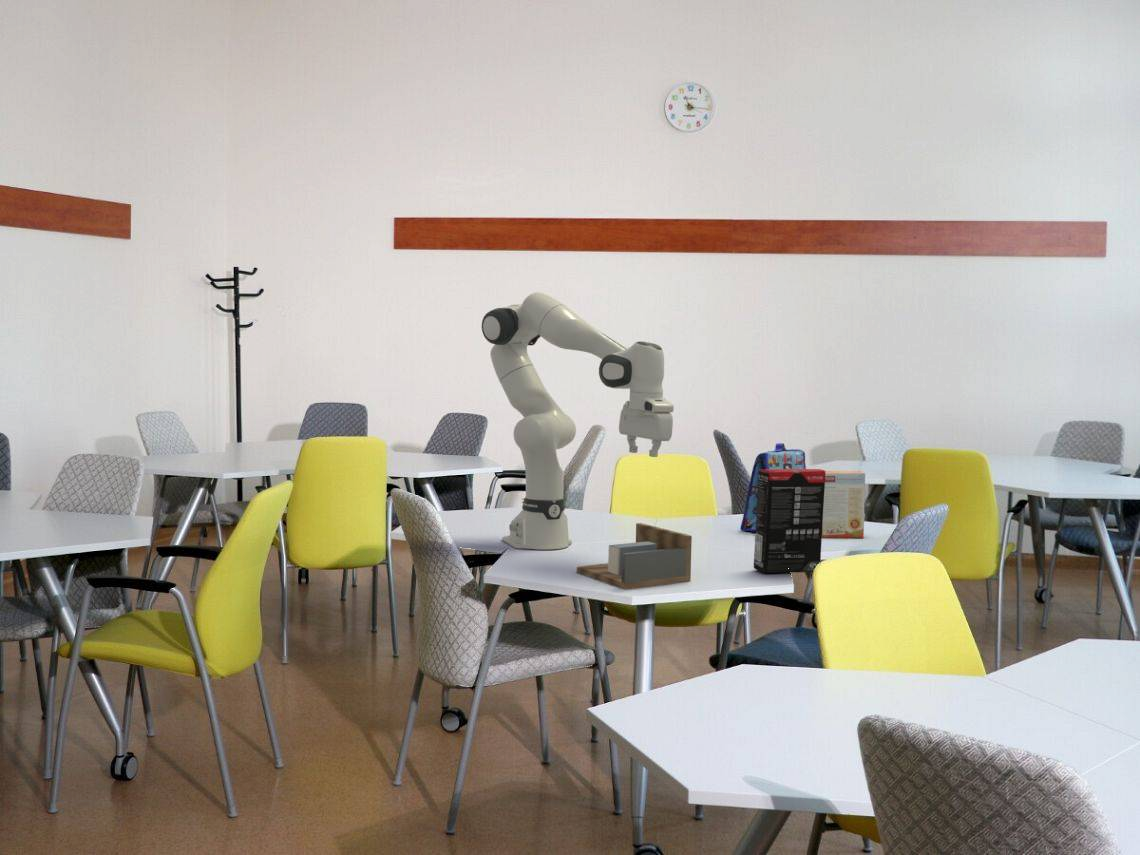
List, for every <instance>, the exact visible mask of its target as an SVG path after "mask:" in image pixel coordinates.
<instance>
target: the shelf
mask: <svg viewBox="0 0 1140 855" xmlns="http://www.w3.org/2000/svg"><path fill="white" fill-rule="evenodd" d="M692 539H693V536H692V535H690V534H686V533H682V532H679V531H674V530H669V529H665V528H661V527H659V526H658V527H657V526H655V525H651V524H646V523H642V522H638V523H635V543H637V542H647V541H648V542H652V543H655V544H657V550H660V549H670V548H680V547H684V548H687V555H686V576H681V577H672V578H664V579H656V580H647V581H639V582H631V583H623V582H621V578H622V575H618V576H617V575H614V574H611V573H608V562H607V563H599V564H590V565H589V564H587V565H581V566H579V565H577V566H576V573H577V574H580V575H583V576H586V577H589V578H591V579H595V580H598V581H600V582H603V583H605V584H606V583H607V584H609V585H611V586H615V587H617V588H619V589H623V590H631V589H637V588H638V589H639V588H645V587H647V588H648V587H654V586H662V585H663V586H664V585H670V584H671V585H672V584H679V583H688V582H692V581H691V578H692V577H691V576H692V575H691V574H692V573H691V572H692V542H693V541H692Z"/></svg>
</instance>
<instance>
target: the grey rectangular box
mask: <svg viewBox="0 0 1140 855" xmlns="http://www.w3.org/2000/svg"><path fill="white" fill-rule="evenodd" d="M650 550H657V544H655V543H652V542H648V541H647V542H637V543H636V542H628V543H617V544H609V545H608V555H607V556H608V560H607V563H608V573H611V574H614V575H617V576H618V575H622V553H631V552H641V551H650Z"/></svg>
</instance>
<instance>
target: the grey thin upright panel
mask: <svg viewBox="0 0 1140 855" xmlns="http://www.w3.org/2000/svg"><path fill="white" fill-rule="evenodd" d="M686 555H687V548H684V547H680V548H670V549H660V550H650V551H641V552H631V553H622V578H621V582H623V583H631V582H639V581H647V580H656V579H664V578H672V577H681V576H686Z"/></svg>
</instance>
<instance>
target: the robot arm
mask: <svg viewBox="0 0 1140 855" xmlns="http://www.w3.org/2000/svg"><path fill="white" fill-rule="evenodd" d="M481 332H482V334H483V337H484V338H485V340H486V341H487V342H488V343H490V344H492V345H493V346H492V347H491V349H490V359H491V363H492V366H493V369H494V372H495V374H496V377H497V379H498V381H499V383H500V385H501V387H502V389H503V391H504V393H505V395H506V397H507V399H508V402H509V404H510V405H511V407H513V409H514V410H516V411H517V412H518V413H520V414H521V415H522V416H523V418H522V419H520V420H519V421H518V422H517V423H516V424H515V426H514V428H513V440H514V442H515V444H516V445H517V447H518V448H519V449H520V452H521V456H522V459H523V463H524V464H523V465H524V469H525V470H524V471H525V497H524V498H521V501H522V502H521V503H522V507H521V509H522V510H521V511H520V512H519V513H518V514H517V515H516V516H515V517H514V518H513V519H511V522H510V524H509V535H504V536H502V537H501V540H502V541H503V542H505V543H506V544H508V545H509V546H511V547H512V548H514V549H528V550H529V549H530V550H545V551H546V550H559V549H565V548H567V547H568V546H569V545H571V544H572V542H573V541H572V539H570V537H569V524H568V520H569V519H568V516H567V515H566V514H565V512H564V511H565V509H566V502H565V499H566V498H564V486H565V485H564V479H565V473H564V470H563V469H562V467H561V466H560V463H559V460H558V454H557V450H560V449H563V448H565V447H566V446H568V445H569V444H571V443H572V441H574V439H575V437H576V433H577V426H576V423H575V422H574V420H573V419H572V418H571V417H570V416H569V415H567V414H566V413H565V412H564V411H563V409H561V407H560V406H559V405H558V403H557V402H556V401H555V399H553V397H552V396H551V395H550V393H549V392H548V390H547V389H546V388H545V386H544V383H543V382H542V380H541V378H540V376H539V374H538V371H537V369H536V368H535V366H534V363H533V362H532V360H531V358H530V357H529V354H528V346H529V347H530V346H534V345H536V343H537V341H538V340H539V339H540V338H543V340H545V341H547V342H548V343H549V344H551V345H553V346H556V347H558V348H559V349H563V350H571V351H578V352H585V353H587V354H592V355H594V356H596V357H597V358H599V359H601V361H600V362H599V367H598V376H599V378H600V381H601V383H603V384H602V385H604V386H605V387H608V388H611V389H615V390H616V389H620V390H621V389H622V390H623V389H624V390H626V389H627V390H628V389H629V400H626V402H625V403H624V404H623V406H622V409H621V410H620V416H619V423H618V432H619V434H620V435H625V436H626V441H627V444H628V446H629V449H628V450H629V451H628V452H629V453H633V454H637V453H638V451H639V450H638V448H639V447H638V445H637V443H636V440H637V438H640V439H647V440H650V441H651V444H652V446H651V448H650V449H649V450H648V451H649V453H648V455H649V457H651V458H657V457H658V455H659V450H660V448H661V445H662V442H669V441H670V440H671V439H672V436H673V428H674V426H673V425H674V422H673V421H674V418H673V415H672V413H674V409H675V408H674V407H675V406H674V404H673V403H672V402H670V401H669V400H667V399H666V398H665V397H664V390H663V380H664V377H665V354H664V350H663V348H662V347H661V346H660V345H659V344H657V343H652V342H646V341H635V342H634V343H633V344H632V345H631V346H629V347H628V348H626V347H625V346H623V345H622V344H620V343H618V342H617V341H615V340H614V339H613V338H611V337H609V336H607V335H606V334H604V333H603V332H601V331H600V330H598V329H597V328H595V327H594V326H592V325H591V324H590V323H588V321H586V320H584V319H583V318H582V317H580V315H578V314H577V313H576V312H574V311H573V310H572V309H570V308H569V307H568V306H566V305H565V304H563V303H562V302H560V301H558V300H557V299H556V298H553V297H552V296H550V295H547V294H544V293H543V292H539V291H537V292H532V293H530V294H529V295H527V297H526V298H525V299H524V300H523V302H522V303H520V304H511V305H507V306H504V307H496V308H494V309H492V310H490V311H488V312H487V313H485V315H484V316H483V317H482V321H481Z"/></svg>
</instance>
